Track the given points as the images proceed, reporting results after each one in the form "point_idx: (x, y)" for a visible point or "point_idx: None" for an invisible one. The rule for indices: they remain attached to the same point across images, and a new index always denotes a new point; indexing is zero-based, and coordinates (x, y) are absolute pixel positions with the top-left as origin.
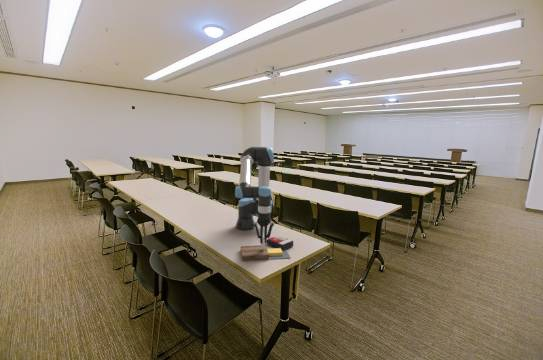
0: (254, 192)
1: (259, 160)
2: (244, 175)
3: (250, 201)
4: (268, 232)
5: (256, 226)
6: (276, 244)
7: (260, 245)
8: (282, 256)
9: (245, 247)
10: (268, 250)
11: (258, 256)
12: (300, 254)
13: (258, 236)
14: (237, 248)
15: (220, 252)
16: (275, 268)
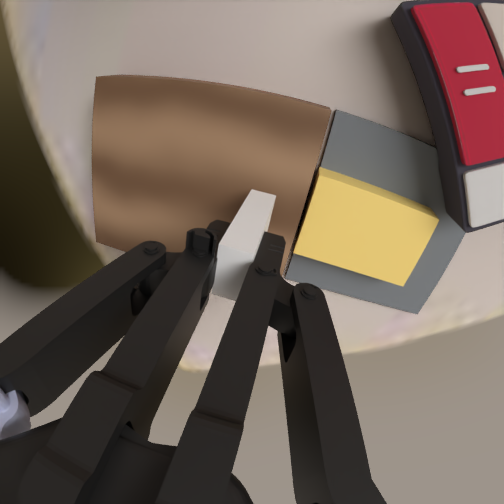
0: None
1: None
2: None
3: None
4: (290, 369)
5: (30, 407)
6: (446, 149)
7: (275, 102)
8: (386, 284)
9: (125, 106)
10: (317, 211)
11: None
12: (491, 295)
13: (141, 302)
14: (109, 35)
15: (28, 87)
16: (271, 353)
